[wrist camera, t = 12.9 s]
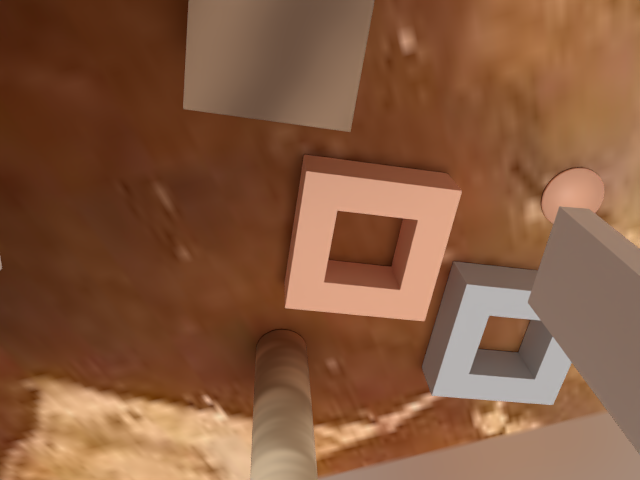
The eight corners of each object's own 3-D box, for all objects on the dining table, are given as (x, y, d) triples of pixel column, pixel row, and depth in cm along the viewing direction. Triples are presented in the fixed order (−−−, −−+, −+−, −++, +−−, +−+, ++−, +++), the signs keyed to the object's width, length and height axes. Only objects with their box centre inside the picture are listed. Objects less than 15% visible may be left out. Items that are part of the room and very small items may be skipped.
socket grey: (421, 367, 41) (431, 395, 39) (453, 261, 37) (467, 284, 35) (535, 377, 42) (552, 404, 40) (577, 275, 39) (600, 298, 36)
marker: (532, 221, 37) (534, 223, 36) (553, 163, 35) (554, 164, 35) (589, 228, 37) (590, 230, 37) (612, 171, 35) (613, 172, 35)
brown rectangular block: (207, 70, 31) (183, 108, 23) (217, -73, 28) (193, -87, 20) (331, 89, 32) (350, 131, 24) (353, -48, 29) (383, -52, 21)
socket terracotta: (284, 283, 37) (285, 307, 35) (303, 154, 33) (306, 171, 31) (414, 296, 38) (424, 321, 36) (447, 173, 35) (461, 190, 32)
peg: (252, 367, 40) (245, 516, 30) (259, 326, 39) (254, 469, 28) (302, 372, 41) (312, 520, 30) (311, 332, 39) (324, 474, 29)
